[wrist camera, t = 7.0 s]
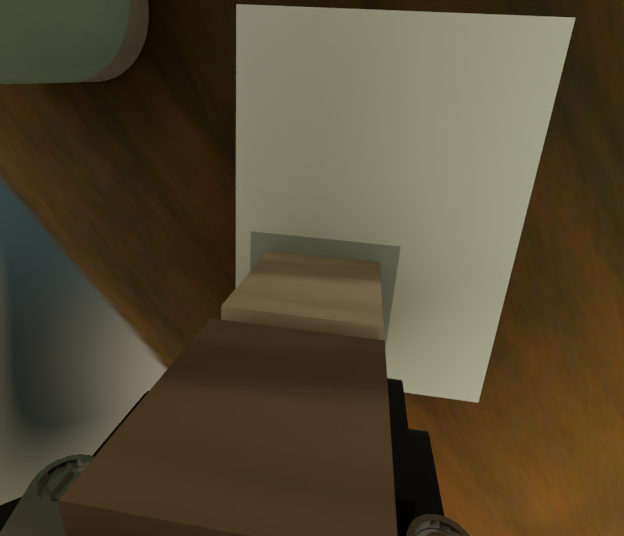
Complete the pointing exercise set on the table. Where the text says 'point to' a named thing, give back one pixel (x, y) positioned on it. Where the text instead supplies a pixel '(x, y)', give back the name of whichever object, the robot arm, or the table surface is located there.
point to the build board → (398, 162)
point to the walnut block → (249, 443)
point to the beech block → (310, 295)
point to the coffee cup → (69, 39)
